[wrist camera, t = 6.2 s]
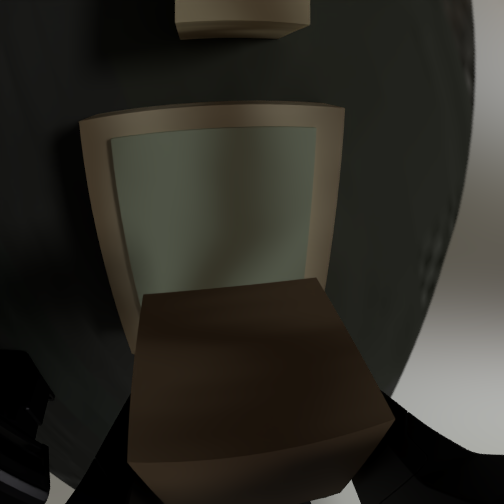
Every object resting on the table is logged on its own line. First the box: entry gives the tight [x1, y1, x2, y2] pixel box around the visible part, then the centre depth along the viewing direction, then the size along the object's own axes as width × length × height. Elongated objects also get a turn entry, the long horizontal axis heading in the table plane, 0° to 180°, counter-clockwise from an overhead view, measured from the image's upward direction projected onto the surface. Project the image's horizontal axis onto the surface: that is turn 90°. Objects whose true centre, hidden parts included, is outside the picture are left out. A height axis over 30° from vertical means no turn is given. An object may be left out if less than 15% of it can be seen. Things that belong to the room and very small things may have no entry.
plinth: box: [79, 101, 345, 354], centre depth 17 cm, size 12×14×3 cm
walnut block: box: [127, 277, 395, 504], centre depth 8 cm, size 5×5×5 cm
